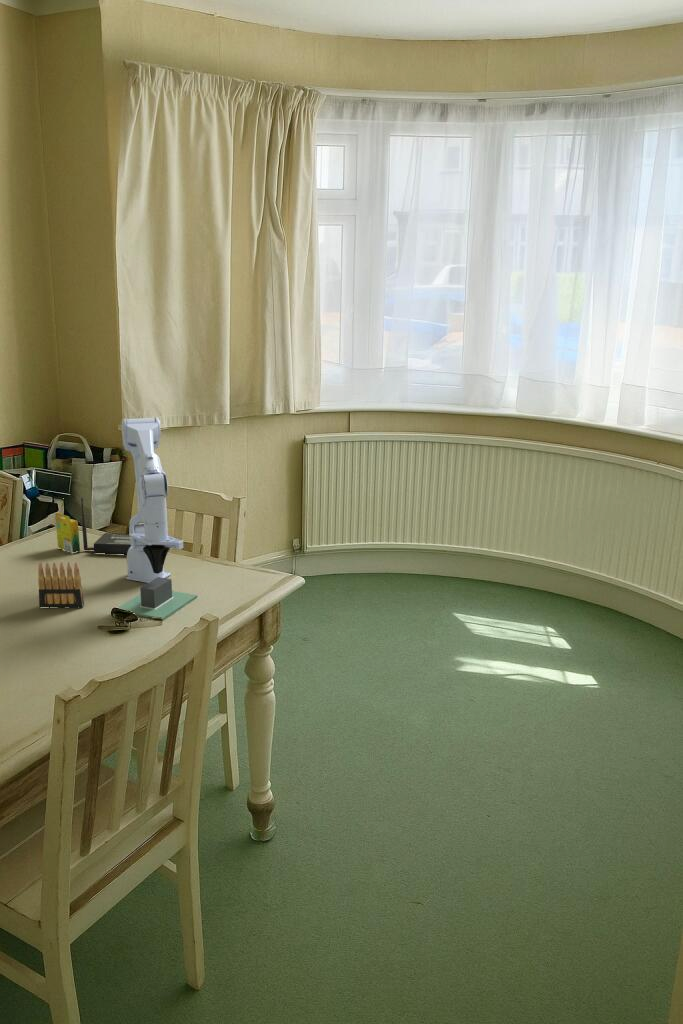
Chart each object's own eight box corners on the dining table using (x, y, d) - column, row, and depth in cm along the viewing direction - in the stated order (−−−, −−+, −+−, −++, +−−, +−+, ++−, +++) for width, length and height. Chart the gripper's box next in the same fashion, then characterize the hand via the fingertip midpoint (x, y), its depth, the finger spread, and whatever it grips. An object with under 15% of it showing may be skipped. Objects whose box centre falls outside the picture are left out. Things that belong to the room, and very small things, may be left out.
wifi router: (158, 544, 263) (155, 491, 258) (146, 559, 250) (142, 503, 245) (94, 542, 264) (91, 489, 259) (79, 557, 251) (74, 501, 246)
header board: (115, 611, 213) (114, 599, 212) (151, 589, 227) (151, 578, 226) (163, 620, 208) (162, 608, 207) (197, 597, 222) (197, 586, 221)
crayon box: (80, 552, 254) (77, 514, 251) (72, 554, 252) (69, 517, 248) (66, 546, 258) (63, 510, 255) (57, 549, 256) (54, 512, 253)
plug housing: (141, 606, 214) (140, 587, 213) (159, 594, 221) (158, 577, 220) (154, 608, 213) (153, 590, 211) (172, 597, 220) (171, 579, 218)
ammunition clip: (39, 608, 214) (35, 563, 210) (41, 605, 215) (37, 561, 212) (82, 608, 214) (78, 563, 211) (84, 605, 216) (80, 560, 213)
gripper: (121, 521, 211) (124, 572, 215) (171, 529, 206) (173, 581, 210) (138, 514, 217) (141, 564, 221) (187, 521, 212) (189, 572, 216)
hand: (158, 572), depth 216 cm, fingers closed
